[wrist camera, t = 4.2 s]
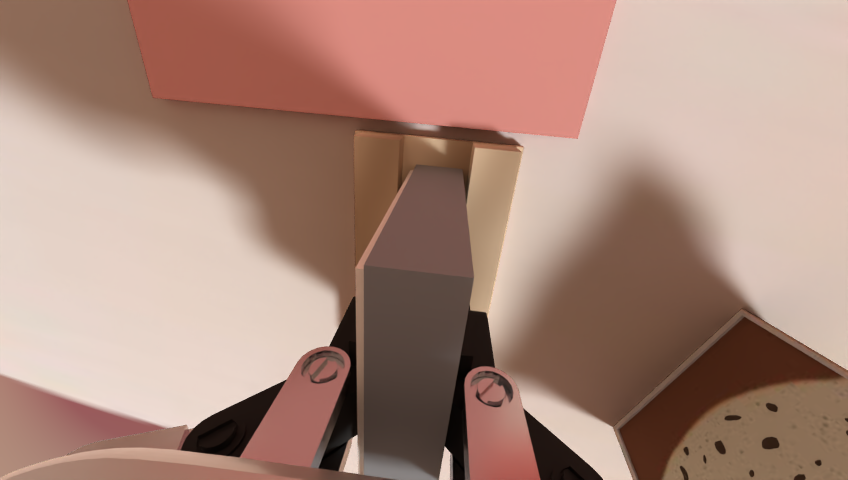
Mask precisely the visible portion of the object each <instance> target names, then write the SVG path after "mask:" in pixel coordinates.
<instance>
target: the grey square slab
mask: <svg viewBox="0 0 848 480" xmlns="http://www.w3.org/2000/svg"><path fill="white" fill-rule="evenodd" d="M473 282H474V271H473V262H472V253H471V244H470V235H469V225H468V216H467V207H466V198H465V188H464V179H463V170H462V169H457V168H447V167H437V166H427V165H417V164H416V166H415V168H414V170H410V172H409V174H408V175H407V177H406V179H405V181H404V183H403V184H402V186H401V188H400V190H399V191H398V193H397V195H396V197H395V199H394V200H393V202H392V204H391V206H390V207H389V209H388V211H387V213H386V215H385V216H384V218H383V220H382V222H381V223H380V225H379V227H378V229H377V231H376V232H375V234H374V236H373V238H372V239H371V241H370V243H369V245H368V246H367V248H366V250H365V252H364V254H363V255H362V257H361V259H360V261H359V262H358V264H357V266H356V268H355V284H356V358H357V432H358V474H360V475H367V476H374V477H381V478H388V479H395V480H439V475H440V469H441V463H442V458H443V452H444V446H445V441H446V435H447V429H448V424H449V418H450V412H451V407H452V401H453V395H454V390H455V384H456V378H457V373H458V367H459V361H460V356H461V350H462V344H463V339H464V333H465V327H466V322H467V316H468V310H469V305H470V299H471V293H472V288H473Z"/></svg>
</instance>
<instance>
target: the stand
mask: <svg viewBox="0 0 848 480" xmlns="http://www.w3.org/2000/svg"><path fill="white" fill-rule="evenodd" d="M523 149H524V147H523V146H518V145H508V144H497V143H487V142H477V141H467V140H456V139H446V138H436V137H426V136H416V135H405V134H395V133H385V132H375V131H364V130H356V131H355V135H354V199H355V268H356V266H357V264H358V262H359V261H360V259H361V257H362V255H363V254H364V252H365V250H366V248H367V246H368V245H369V243H370V241H371V239H372V238H373V236H374V234H375V232H376V231H377V229H378V227H379V225H380V223H381V222H382V220H383V218H384V216H385V215H386V213H387V211H388V209H389V207H390V206H391V204H392V202H393V200H394V199H395V197H396V195H397V193H398V191H399V190H400V188H401V186H402V184H403V183H404V181H405V179H406V177H407V175H408V174H409V172H410V170H414V168H415V166H416V164H417V165H427V166H437V167H447V168H457V169H462V170H463V179H464V188H465V198H466V207H467V216H468V225H469V235H470V244H471V253H472V262H473V271H474V282H473V288H472V293H471V299H470V310H472V311H480V312H486V313H487V318H488V314H489V309H490V304H491V299H492V295H493V290H494V285H495V281H496V276H497V271H498V267H499V262H500V257H501V252H502V248H503V243H504V238H505V234H506V229H507V224H508V220H509V215H510V210H511V205H512V201H513V196H514V191H515V187H516V182H517V177H518V173H519V168H520V163H521V159H522V154H523Z"/></svg>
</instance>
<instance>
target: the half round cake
mask: <svg viewBox="0 0 848 480" xmlns="http://www.w3.org/2000/svg"><path fill="white" fill-rule="evenodd" d="M613 429H614V431H615V434H616V436H617V439H618V442H619V444H620V447H621V449H622V452H623V455H624V457H625V460H626V462H627V465H628V468H629V470H630V473H631V475H632V478H633V480H848V370H846V369H844V368H843V367H841V366H839V365H837V364H836V363H834V362H832V361H831V360H829V359H827V358H826V357H824V356H822V355H821V354H819V353H817V352H816V351H814V350H812V349H811V348H809V347H807V346H806V345H804V344H802V343H800V342H799V341H797V340H795V339H794V338H792V337H790V336H789V335H787V334H785V333H784V332H782V331H780V330H779V329H777V328H775V327H774V326H772V325H770V324H769V323H767V322H765V321H764V320H762V319H760V318H758V317H757V316H755V315H753V314H751V313H749V312H747V311H745V310H743V309H741V310H740V311H739V312H738V313H737V314H735V315H734V316H733V317H732V318H731V319H730V320H729V321H728V322H727V323H726V324H725V325H723V326H722V327H721V328H720V329H719V330H718V331H717V332H716V333H715V334H714V335H713V336H712V337H710V338H709V339H708V340H707V341H706V342H705V343H704V344H703V345H702V346H701V347H700V348H698V349H697V350H696V351H695V352H694V353H693V354H692V355H691V356H690V357H689V358H688V359H686V360H685V361H684V362H683V363H682V364H681V365H680V366H679V367H678V368H677V369H676V370H675V371H673V372H672V373H671V374H670V375H669V376H668V377H667V378H666V379H665V380H664V381H663V382H661V383H660V384H659V385H658V386H657V387H656V388H655V389H654V390H653V391H652V392H651V393H649V394H648V395H647V396H646V397H645V398H644V399H643V400H642V401H641V402H640V403H639V404H637V405H636V406H635V407H634V408H633V409H632V410H631V411H630V412H629V413H628V414H627V415H626V416H624V417H623V418H622V419H621V420H620V421H619V422H618V423H617V424H616V425H615V426H614V427H613Z"/></svg>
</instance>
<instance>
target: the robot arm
mask: <svg viewBox="0 0 848 480" xmlns="http://www.w3.org/2000/svg"><path fill="white" fill-rule="evenodd" d="M357 434H358V432H357V358H356V297H353V299H352V301H351V303H350V305H349V307H348V309H347V311H346V313H345V315H344V317H343V319H342V321H341V323H340V325H339V327H338V329H337V331H336V334H335V336H334V338H333V340H332V342H331V344H330V346H329V347H320V348H316V349H314V350H311V351H309V352H308V353H306V354H305V355H303V356H302V357H301V359H300V360H299V361H298V362H297V364H296V365H295V367H294V369H293V370H292V372H291V374H290V375H289V377H288V379H287V380H285V381H283V382H281V383H279V384H277V385H274V386H272V387H270V388H268V389H266V390H264V391H262V392H260V393H258V394H256V395H253V396H251V397H249V398H247V399H245V400H243V401H241V402H239V403H237V404H235V405H232V406H230V407H228V408H226V409H224V410H222V411H220V412H218V413H216V414H214V415H212V416H210V417H208V418H207V419H205V420H203V421H202V422H201V423H200V424H198V425H197V426H196V427H195V428H192V429H188V427H187V425H183V426H178V427H172V428H167V429H162V430H156V431H151V432H146V433H140V434H135V435H130V436H125V437H119V438H114V439H108V440H103V441H98V442H94V443H91V444H88V445H85V446H82V447H80V448H78V449H77V450H75V451H73V452H71V453H69V454H67V455H66V456H63V457H59V458H54V459H50V460H47V461H43V462H40V463H37V464H33V465H30V466H28V467H25V468H22V469H20V470H16V471H14V472H11V473H9V474H6V475H4V476H2V477H0V480H395V479H388V478H381V477H374V476H367V475H360V474H353V473H346V472H343V470H344V467H345V464H346V460H347V457H348V454H349V451H350V447H351V444H352V438H353V437H354V436H356V435H357ZM445 447H446V448H447V449H448V450H449V451H450V453H451V455H450V480H603V479H602V477H601V476H600V475H599V474H598V473H597V472H596V471H595V470H594V469H593V468H592V467H591V466H590V465H589V464H587V463H586V462H585V461H584V460H583V459H582V458H580V457H579V456H578V455H577V454H576V453H575V452H573V451H572V450H571V449H570V448H569V447H568V446H566V445H565V444H564V443H563V442H562V441H561V440H560V439H558V438H557V437H556V436H555V435H554V434H553V433H551V432H550V431H549V430H548V429H547V428H546V427H544V426H543V425H542V424H541V423H540V422H539V421H537V420H536V419H535V418H534V417H533V416H532V415H530V414H529V413H528V412H527V411H526V410H525V409H524V408H523V406H522V402H521V397H520V393H519V390H518V388H517V385H516V383H515V382H514V381H513V379H512V378H511V377H510V376H508V375H507V374H506V373H505V372H503V371H501V370H499V369H497V368H495V365H494V358H493V352H492V345H491V338H490V331H489V325H488V318H487V313H486V312H480V311H472V310H470V305H469V310H468V316H467V322H466V327H465V333H464V339H463V344H462V350H461V356H460V361H459V367H458V373H457V378H456V384H455V390H454V395H453V401H452V407H451V412H450V418H449V424H448V429H447V435H446V441H445Z"/></svg>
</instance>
